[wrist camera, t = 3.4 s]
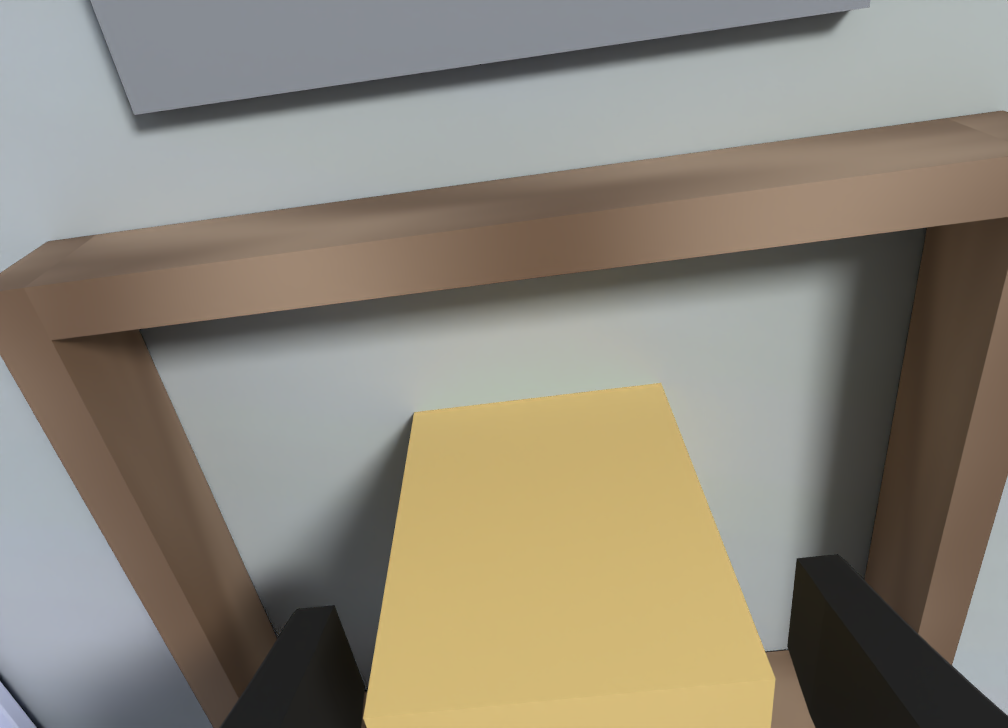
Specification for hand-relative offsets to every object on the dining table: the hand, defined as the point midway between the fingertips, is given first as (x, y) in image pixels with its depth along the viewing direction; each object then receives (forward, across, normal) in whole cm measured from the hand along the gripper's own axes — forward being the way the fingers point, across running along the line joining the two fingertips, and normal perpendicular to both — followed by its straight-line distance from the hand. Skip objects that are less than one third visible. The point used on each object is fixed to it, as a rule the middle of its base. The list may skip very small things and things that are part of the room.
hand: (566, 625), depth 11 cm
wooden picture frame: (+3, 0, 0) cm, 3 cm away
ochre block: (+3, 0, 0) cm, 3 cm away
